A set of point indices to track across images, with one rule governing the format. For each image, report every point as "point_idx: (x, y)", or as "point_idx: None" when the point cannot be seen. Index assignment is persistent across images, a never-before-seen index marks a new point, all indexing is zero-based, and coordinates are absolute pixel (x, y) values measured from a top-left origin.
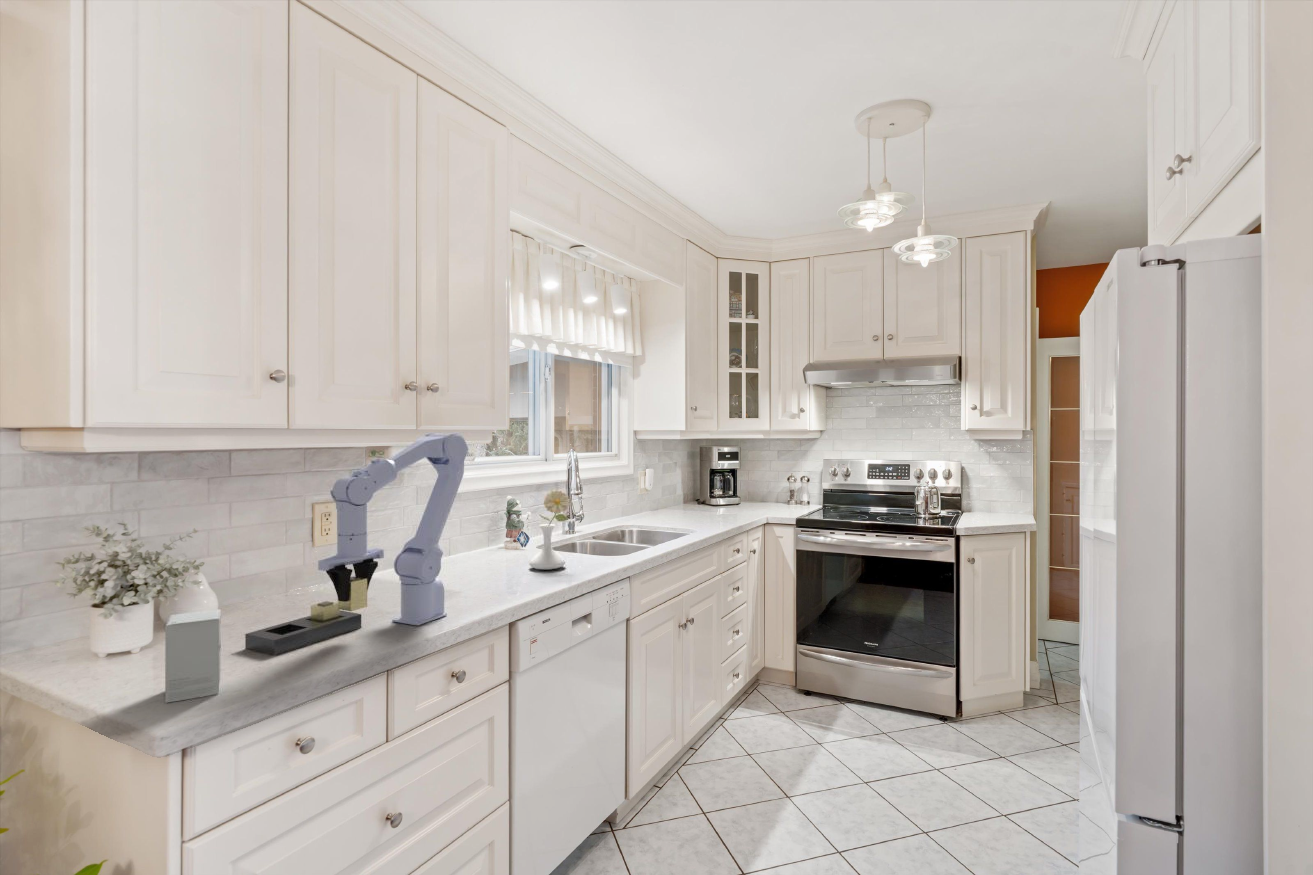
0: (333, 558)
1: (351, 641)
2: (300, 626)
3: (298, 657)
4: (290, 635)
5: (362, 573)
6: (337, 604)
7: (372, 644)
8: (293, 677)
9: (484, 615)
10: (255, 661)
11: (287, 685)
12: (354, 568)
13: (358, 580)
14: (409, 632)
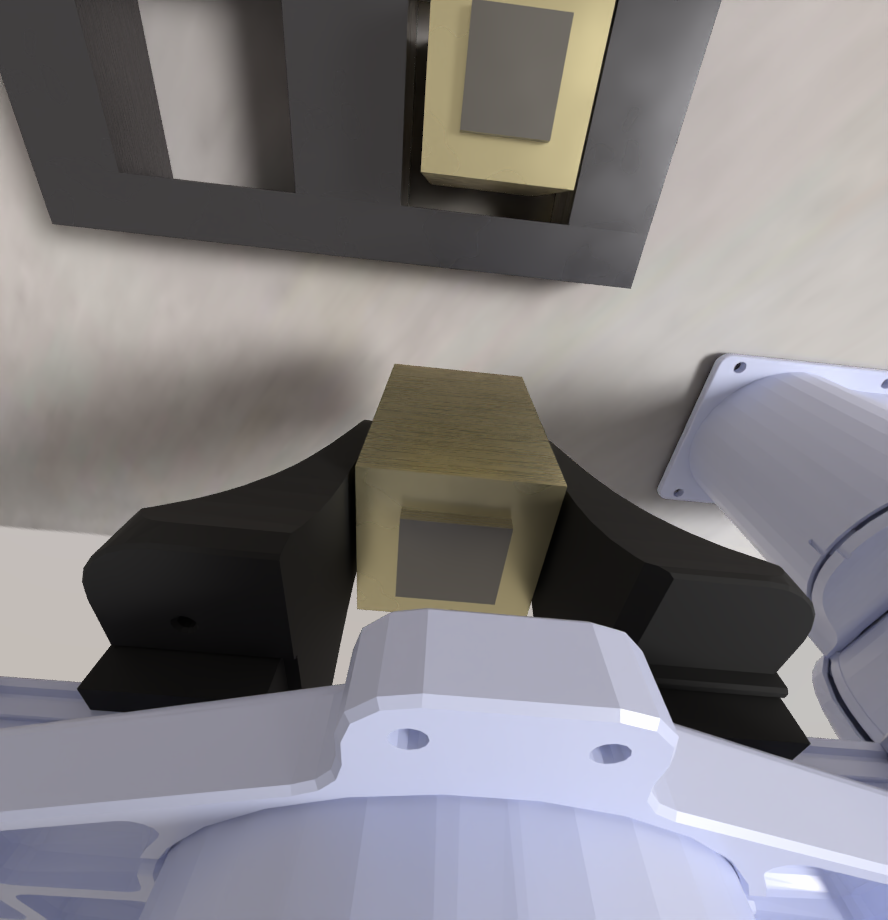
0: (2, 886)
1: None
2: (289, 103)
3: (180, 349)
4: (152, 234)
5: (556, 607)
6: (552, 186)
7: None
8: (88, 485)
9: None
10: (20, 204)
11: (54, 514)
12: (605, 549)
13: None
14: None
